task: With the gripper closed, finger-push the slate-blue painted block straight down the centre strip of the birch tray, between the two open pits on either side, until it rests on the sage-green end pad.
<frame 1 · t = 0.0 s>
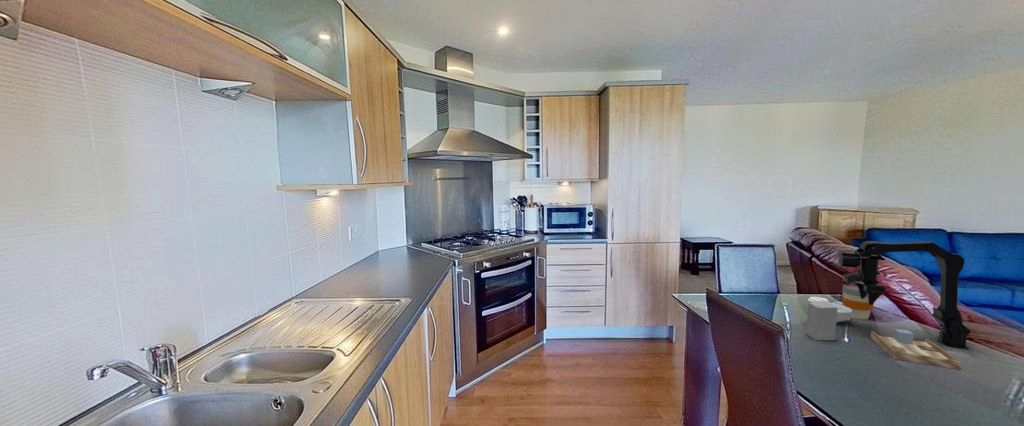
hand: (866, 301, 164), 15 cm above the table, fingers open, 9 cm apart
reusable coffee cup: (856, 316, 185), on the table
paper cup: (816, 327, 172), on the table
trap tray: (910, 351, 146), on the table
skincare box: (820, 338, 160), on the table
cereal bowl: (828, 320, 181), on the table
slate block: (902, 341, 152), point 2 cm above the table, touching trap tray
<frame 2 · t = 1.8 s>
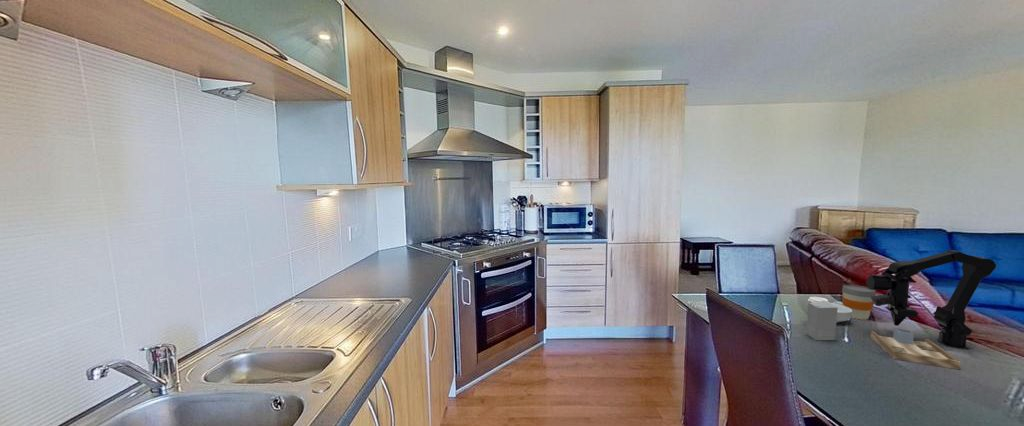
hand: (896, 325, 158), 6 cm above the table, fingers closed
nothing on the table moved.
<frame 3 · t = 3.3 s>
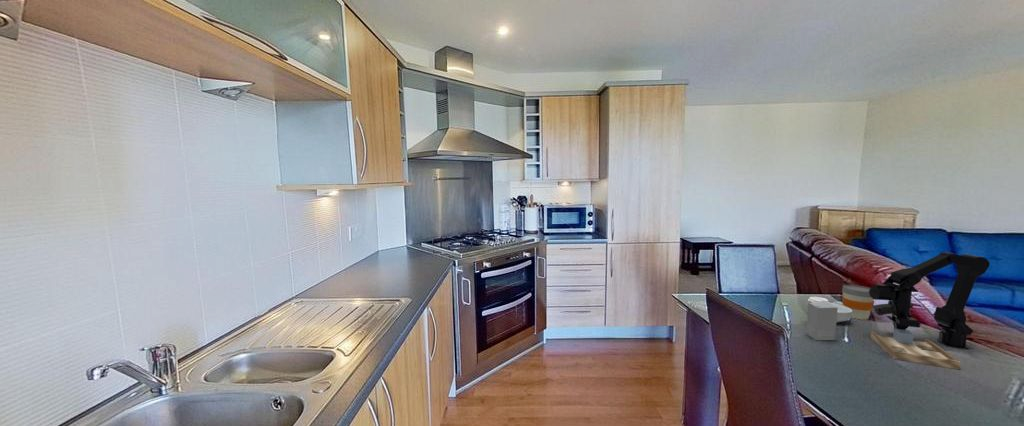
hand: (897, 334, 156), 3 cm above the table, fingers closed
slate block: (902, 341, 152), point 2 cm above the table, touching gripper, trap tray
everything else where it was.
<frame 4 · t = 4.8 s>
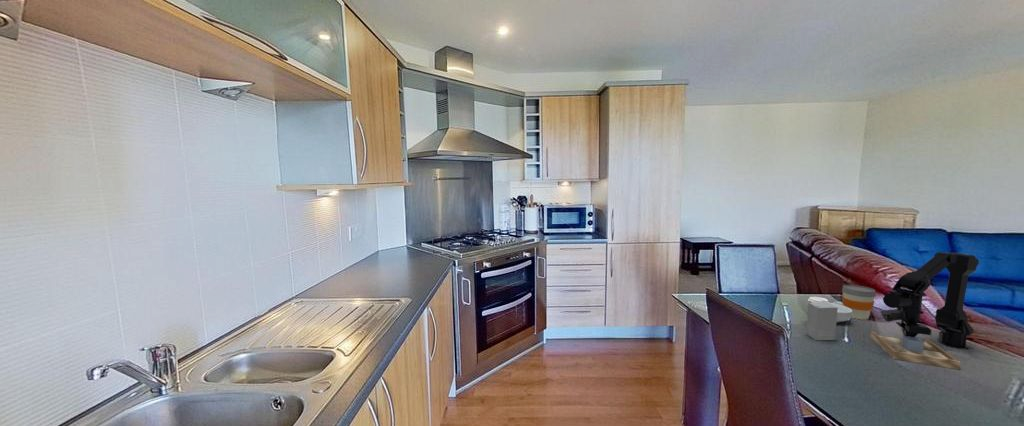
hand: (907, 342, 149), 3 cm above the table, fingers closed
slate block: (912, 349, 145), point 2 cm above the table, touching gripper, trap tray
everything else where it was.
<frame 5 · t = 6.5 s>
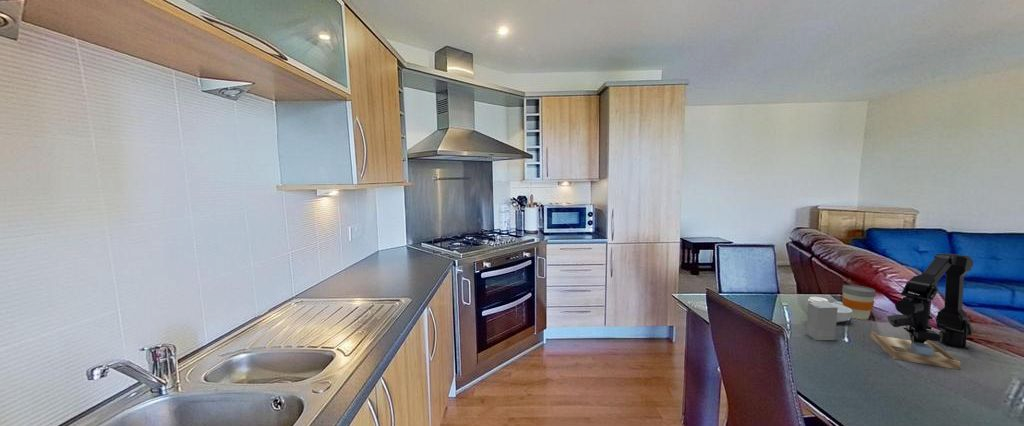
hand: (915, 348, 143), 3 cm above the table, fingers closed
slate block: (921, 355, 140), point 2 cm above the table, touching gripper, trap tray
everything else where it was.
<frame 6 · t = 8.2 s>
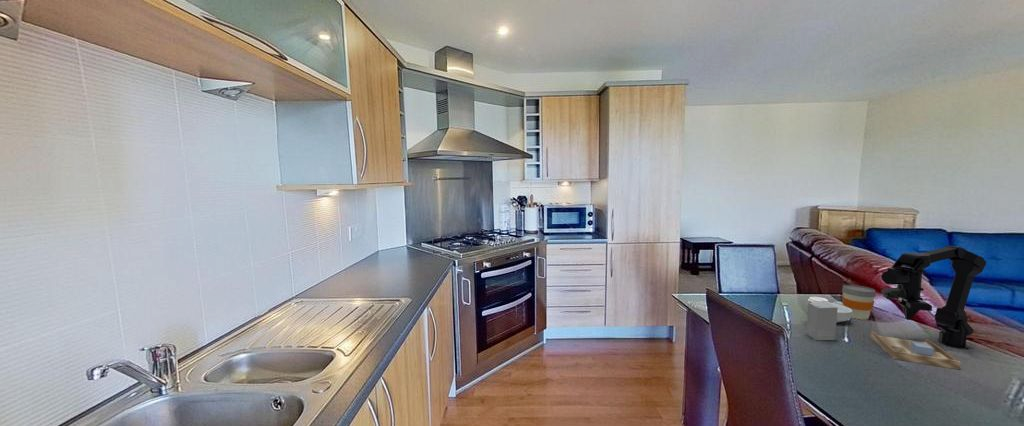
hand: (907, 319, 150), 12 cm above the table, fingers closed
slate block: (921, 355, 140), point 2 cm above the table, touching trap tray
everything else where it was.
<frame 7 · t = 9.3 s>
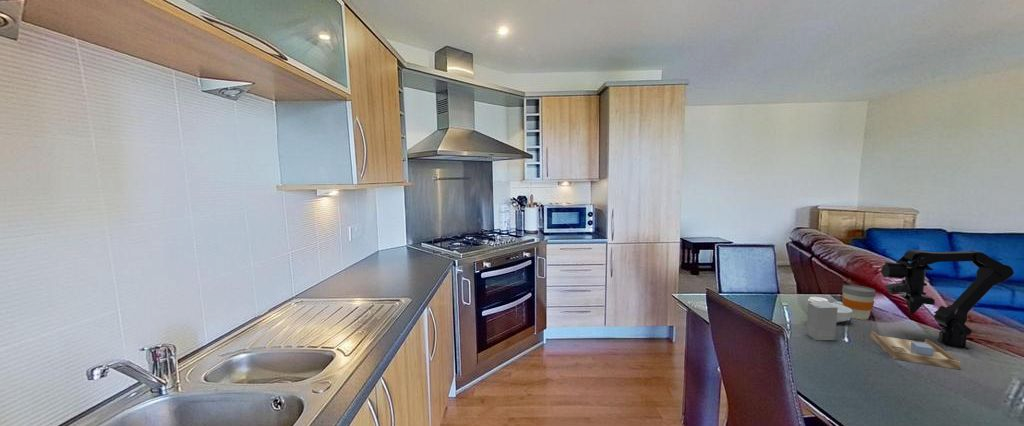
hand: (911, 313, 156), 12 cm above the table, fingers closed
nothing on the table moved.
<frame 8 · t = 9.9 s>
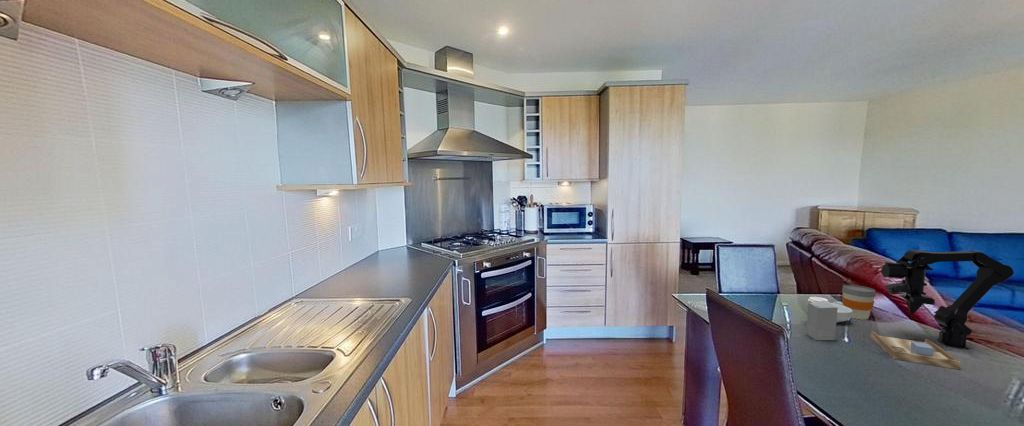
hand: (911, 313, 156), 12 cm above the table, fingers closed
nothing on the table moved.
at the end: slate block 0.1 cm from the target spot on the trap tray, point 1.6 cm above the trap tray's base; slate block tilted 0° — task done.
